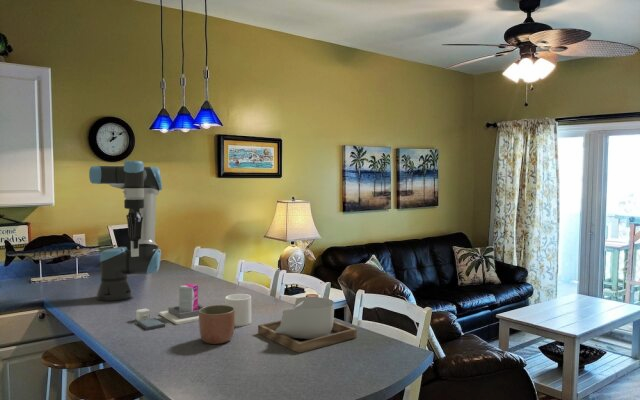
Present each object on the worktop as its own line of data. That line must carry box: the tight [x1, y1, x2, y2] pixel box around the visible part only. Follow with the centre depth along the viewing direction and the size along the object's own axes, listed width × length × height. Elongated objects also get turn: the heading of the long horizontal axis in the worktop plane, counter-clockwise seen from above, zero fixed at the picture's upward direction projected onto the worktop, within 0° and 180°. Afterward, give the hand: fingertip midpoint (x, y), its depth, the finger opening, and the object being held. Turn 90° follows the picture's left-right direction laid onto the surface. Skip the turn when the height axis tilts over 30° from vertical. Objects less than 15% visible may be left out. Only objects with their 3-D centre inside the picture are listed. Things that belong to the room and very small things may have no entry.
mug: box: [224, 293, 252, 328], centre depth 195 cm, size 13×10×10 cm
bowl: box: [275, 296, 335, 340], centre depth 179 cm, size 20×19×12 cm
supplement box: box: [178, 283, 199, 313], centre depth 204 cm, size 6×6×12 cm
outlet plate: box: [158, 303, 205, 325], centre depth 204 cm, size 18×18×3 cm
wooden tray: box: [257, 320, 358, 354], centre depth 179 cm, size 25×25×3 cm
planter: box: [198, 304, 235, 345], centre depth 173 cm, size 12×12×11 cm
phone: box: [136, 317, 166, 331], centre depth 191 cm, size 11×7×1 cm, turn 39°
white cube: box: [135, 308, 151, 321], centre depth 197 cm, size 5×4×4 cm
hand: (134, 256), depth 203 cm, fingers closed
